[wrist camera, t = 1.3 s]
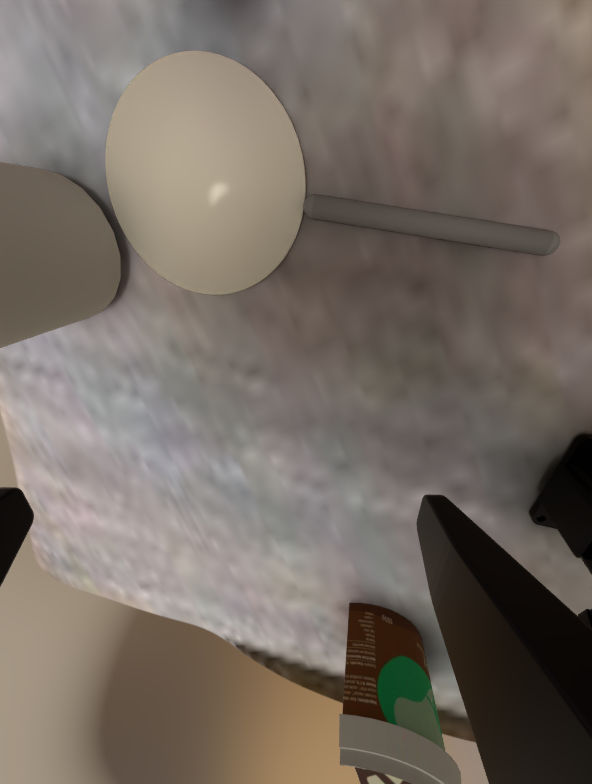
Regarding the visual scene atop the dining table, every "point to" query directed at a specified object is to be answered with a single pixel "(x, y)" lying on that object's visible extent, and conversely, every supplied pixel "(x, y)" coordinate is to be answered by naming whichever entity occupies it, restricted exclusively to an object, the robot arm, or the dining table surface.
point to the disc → (205, 172)
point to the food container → (390, 704)
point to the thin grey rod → (432, 225)
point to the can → (51, 254)
